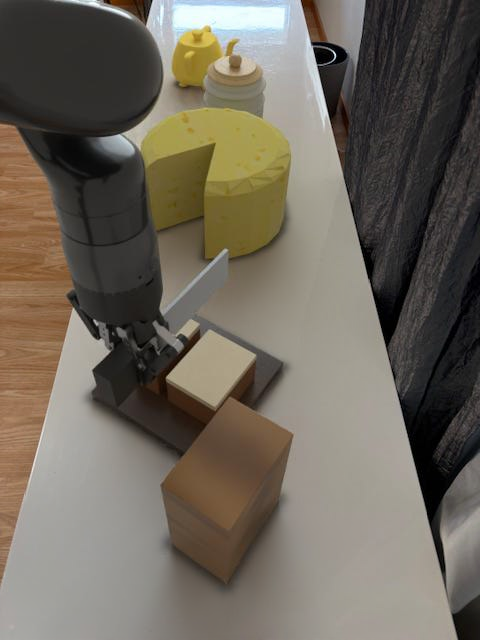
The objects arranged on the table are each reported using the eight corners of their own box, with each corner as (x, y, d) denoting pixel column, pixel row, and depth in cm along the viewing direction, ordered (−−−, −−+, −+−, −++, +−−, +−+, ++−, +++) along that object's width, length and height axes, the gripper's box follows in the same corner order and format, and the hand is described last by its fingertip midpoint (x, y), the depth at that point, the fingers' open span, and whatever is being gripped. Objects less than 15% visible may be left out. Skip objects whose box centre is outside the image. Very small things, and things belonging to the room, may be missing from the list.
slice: (159, 395, 79) (156, 371, 74) (134, 380, 80) (130, 356, 76) (201, 348, 84) (200, 323, 80) (177, 335, 86) (174, 310, 81)
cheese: (154, 266, 97) (146, 197, 85) (141, 176, 113) (133, 107, 101) (299, 250, 101) (310, 181, 89) (266, 164, 117) (272, 97, 105)
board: (206, 471, 74) (205, 466, 72) (92, 397, 80) (90, 391, 79) (282, 367, 84) (283, 362, 83) (177, 310, 91) (176, 304, 90)
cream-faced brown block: (215, 429, 76) (215, 407, 71) (168, 401, 78) (165, 377, 74) (254, 378, 81) (256, 354, 77) (209, 353, 84) (209, 328, 79)
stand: (226, 584, 65) (228, 531, 51) (171, 544, 68) (160, 484, 54) (278, 500, 71) (293, 433, 57) (227, 467, 74) (229, 396, 60)
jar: (221, 111, 129) (222, 33, 116) (272, 127, 126) (279, 48, 112) (193, 139, 122) (190, 59, 108) (245, 157, 118) (249, 76, 105)
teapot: (190, 101, 132) (188, 51, 122) (161, 75, 139) (157, 26, 130) (239, 86, 137) (241, 37, 127) (209, 62, 144) (208, 13, 135)
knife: (117, 408, 57) (110, 382, 53) (99, 397, 58) (91, 370, 54) (234, 282, 69) (235, 253, 65) (218, 274, 69) (218, 244, 65)
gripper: (20, 248, 47) (64, 366, 60) (150, 323, 42) (166, 432, 55) (83, 202, 51) (111, 321, 64) (208, 265, 46) (210, 380, 59)
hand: (136, 372), depth 60 cm, fingers closed on knife, 2 cm apart
